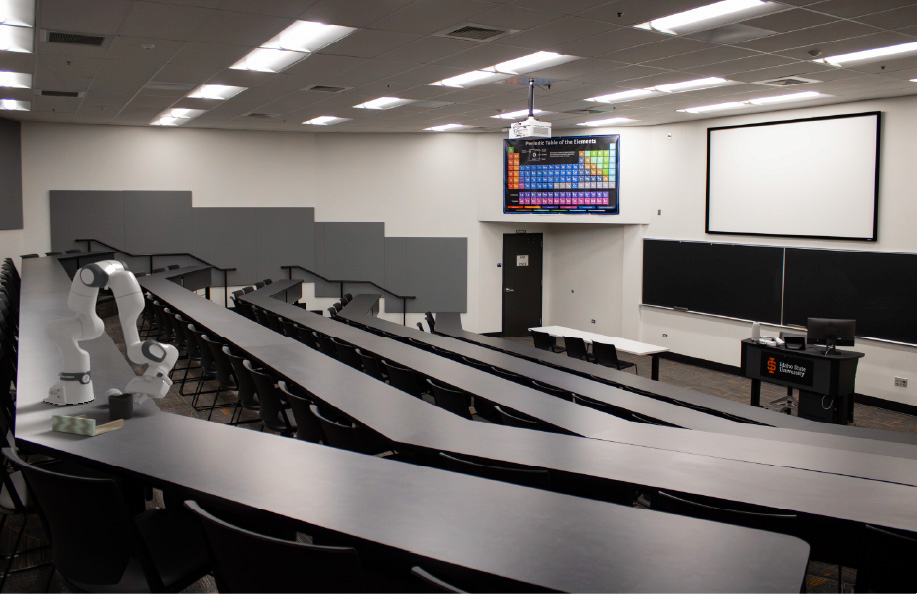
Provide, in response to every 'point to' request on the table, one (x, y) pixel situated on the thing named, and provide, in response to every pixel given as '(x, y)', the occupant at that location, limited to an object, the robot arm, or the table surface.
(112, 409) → the pen holder
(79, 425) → the corral
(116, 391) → the ceramic mug
